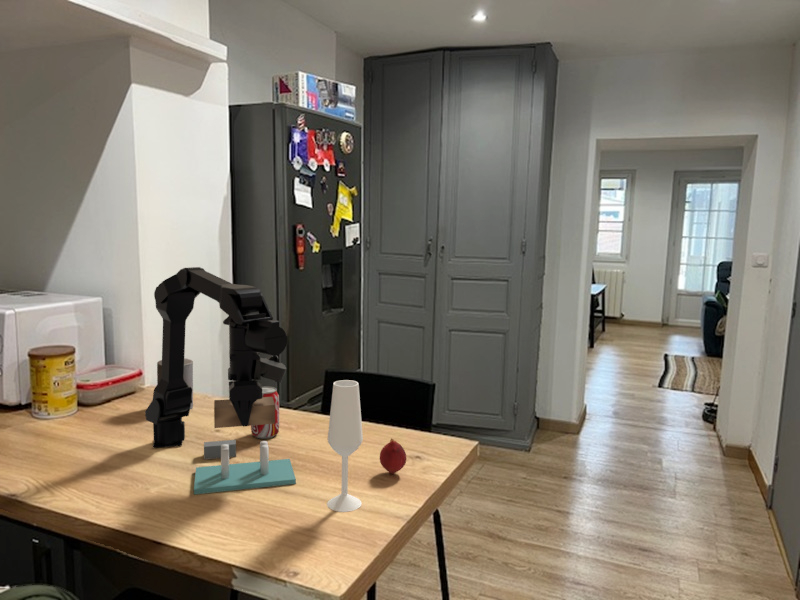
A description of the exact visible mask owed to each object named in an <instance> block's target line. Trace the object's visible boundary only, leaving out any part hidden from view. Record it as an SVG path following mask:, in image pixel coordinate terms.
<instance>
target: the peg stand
mask: <svg viewBox="0 0 800 600" xmlns="http://www.w3.org/2000/svg"><path fill="white" fill-rule="evenodd" d="M269 448H270V447H269V445H268V441H267V440H262V441H260V442H259V461H251V462H240V463H230V457H229V445H228V444H223V445H221V458H220V464H219V465H208V466H196V467H195V475H194V484H193V495H203V494H211V493H213V494H214V493H222V492H229V491H239V490H249V489H261V488H268V487H276V486H277V487H278V486H287V485H296V484H297V480H296V479H297V478H296V475H295V472H294V469H293V465H292V463H291V459H290V458H286V459H285V458H283V459H274V460H273V459H272V460H269V453H270V452H269V450H270V449H269Z"/></svg>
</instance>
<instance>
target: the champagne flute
mask: <svg viewBox="0 0 800 600" xmlns="http://www.w3.org/2000/svg"><path fill="white" fill-rule="evenodd" d="M360 399H361V397H360V385H359V382H358V381H356V380H349V379H343V380H336V381H333V385H332V394H331V403H330V413H329V423H328V432H327V444H328V445H329V446H330V448H331V449H332V450H333V451H334V452H335V453H336V454H337V455H339V456H340V457H341V493H339V494H338V495H336V496H334V497H332V498H331V499H329V500H328V501H327V503H326V505H327V508H328V509H330V510H332V511H334V512H340V513H342V512H343V513H346V512H353V511H356V510H358V509H360V507H361V506H362V501H361V499H360V498H358V497H356V496H354V495H351V494H349V493H348V490H349V489H348V488H349V487H348V486H349V484H348V483H349V482H348V481H349V479H348V478H349V457H350V456H351V455H353V454H354V452H356V451H357V450H358V449H359V447H360V446H361V445H362V443H363V440H364V439H363V438H364V437H363V425H362V412H361V411H362V409H361V400H360Z"/></svg>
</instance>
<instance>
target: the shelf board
mask: <svg viewBox="0 0 800 600" xmlns="http://www.w3.org/2000/svg"><path fill="white" fill-rule="evenodd" d="M213 403H214V404H213V410H214V411H213V412H214V413H213V417H214V419H213V420H214V425H213V426H214V429H223V428H235V427H243V426H242V424H241V422H240V420H239V418H238V415H237V413H236V411H235V409H234V407H233V405H232V402H231V401H230V400H229V398H228V399H215V400H214V401H213ZM264 424H275V403H274V400H273V397H262V399H258V400H256V401H255V402H254V403H253V406H252V410H251V414H250V419H249V423H248V426H249V427H251V425H264ZM248 426H247V427H248Z"/></svg>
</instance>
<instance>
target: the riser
mask: <svg viewBox="0 0 800 600" xmlns="http://www.w3.org/2000/svg"><path fill="white" fill-rule="evenodd" d="M223 444H228V445H229V458H235V457H237V442H236V439H228V440H227V439H226V440H225V439H224V440H217V441H216V440H213V441H212V440H211V441H204V442H203V460H214V459H221V445H223Z"/></svg>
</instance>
